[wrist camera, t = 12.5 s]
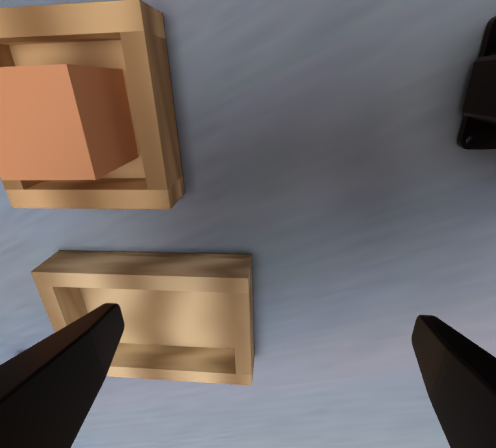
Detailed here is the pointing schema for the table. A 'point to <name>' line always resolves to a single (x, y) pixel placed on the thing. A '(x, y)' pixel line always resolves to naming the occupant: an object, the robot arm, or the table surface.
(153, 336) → the birch box
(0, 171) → the cube
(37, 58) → the oak box
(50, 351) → the robot arm
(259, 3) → the table surface
